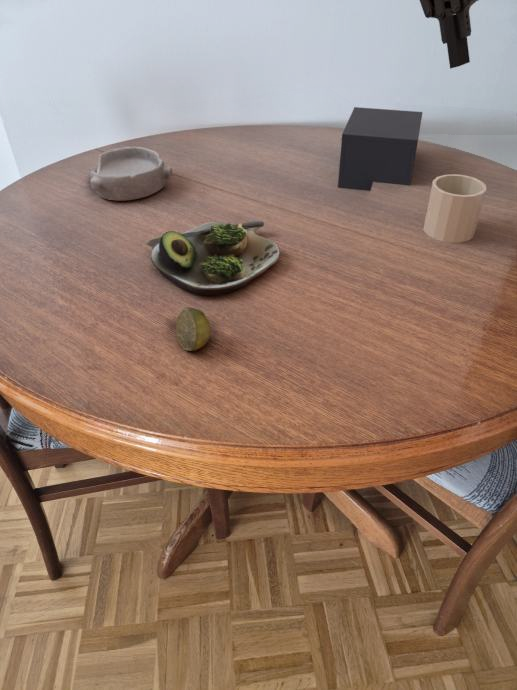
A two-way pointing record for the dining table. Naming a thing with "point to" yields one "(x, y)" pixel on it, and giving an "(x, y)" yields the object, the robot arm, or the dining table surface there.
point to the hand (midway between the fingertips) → (460, 65)
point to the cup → (454, 208)
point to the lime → (192, 329)
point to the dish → (129, 173)
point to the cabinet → (378, 147)
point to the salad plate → (213, 256)
